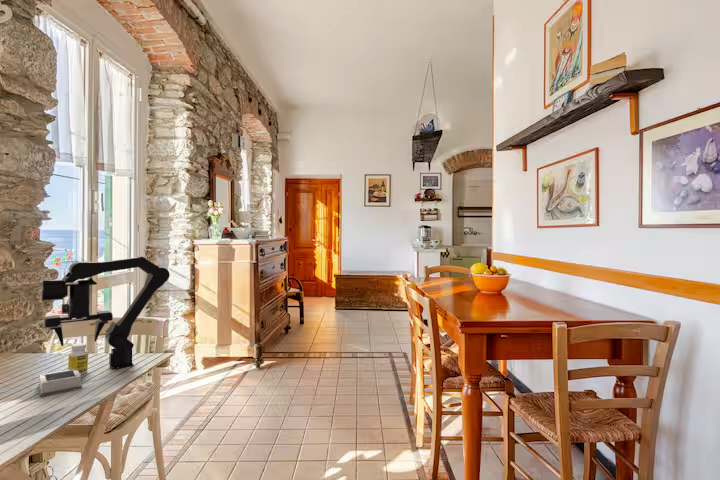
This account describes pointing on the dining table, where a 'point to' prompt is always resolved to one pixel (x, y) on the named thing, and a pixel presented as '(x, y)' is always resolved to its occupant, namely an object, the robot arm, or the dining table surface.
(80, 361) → the supplement bottle
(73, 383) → the socket collar
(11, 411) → the dining table surface
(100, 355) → the dining table surface
